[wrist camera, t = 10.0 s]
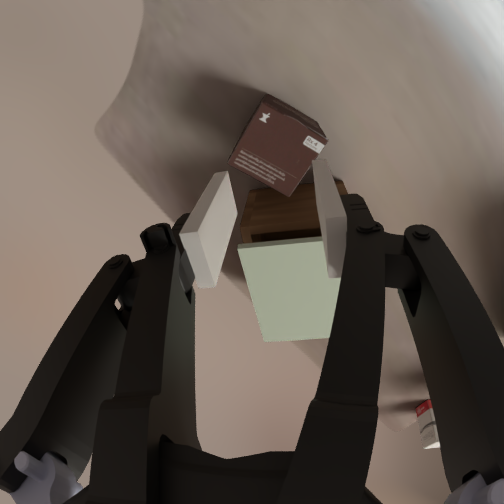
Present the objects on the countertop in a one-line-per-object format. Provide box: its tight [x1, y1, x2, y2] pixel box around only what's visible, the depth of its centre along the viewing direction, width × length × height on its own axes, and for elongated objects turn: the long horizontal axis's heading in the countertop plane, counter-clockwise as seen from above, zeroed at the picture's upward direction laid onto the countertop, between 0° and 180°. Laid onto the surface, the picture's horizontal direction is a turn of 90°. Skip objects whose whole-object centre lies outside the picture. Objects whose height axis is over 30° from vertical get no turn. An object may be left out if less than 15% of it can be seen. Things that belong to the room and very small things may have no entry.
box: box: [227, 94, 328, 197], centre depth 26 cm, size 6×6×7 cm
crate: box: [240, 181, 348, 244], centre depth 32 cm, size 14×10×8 cm
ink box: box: [416, 400, 440, 449], centre depth 53 cm, size 9×5×12 cm, turn 72°
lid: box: [237, 236, 341, 342], centre depth 28 cm, size 14×10×1 cm
